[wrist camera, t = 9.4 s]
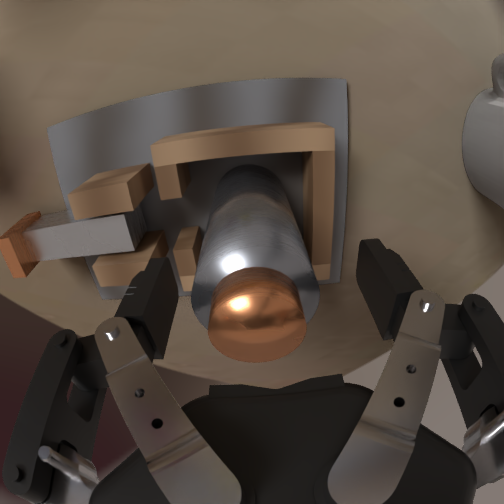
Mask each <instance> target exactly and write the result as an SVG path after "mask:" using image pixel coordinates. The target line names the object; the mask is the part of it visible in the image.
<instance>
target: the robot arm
mask: <svg viewBox="0 0 504 504" xmlns="http://www.w3.org/2000/svg"><path fill="white" fill-rule="evenodd" d="M356 277H357V283H358V285H359V288H360V290H361V292H362V294H363V296H364V298H365V300H366V303H367V305H368V307H369V309H370V311H371V314H372V316H373V318H374V320H375V323H376V325H377V327H378V330H379V332H380V334H381V337H382V339H383V340H388V339H393V340H394V342H395V343H394V345H393V348H392V350H391V353H390V356H389V358H388V360H387V363H386V366H385V368H384V370H383V372H382V375H381V377H380V379H379V381H378V384H377V386H376V388H375V390H374V391H373V390H371V389H369V388H366V387H364V386H361V385H357V384H352V383H344V380H343V376H342V374H337V375H330V376H324V377H316V378H310V379H307V380H304V381H301V382H298V383H295V384H292V385H289V386H286V387H283V388H280V389H269V388H262V387H255V386H249V385H243V384H239V385H210V388H209V395H206V396H202V397H199V398H197V399H195V400H192V401H190V402H189V403H187V404H185V405H184V406H183V407H181V408H180V406H179V405H178V403H177V402H176V400H175V399H174V398H173V396H172V394H171V393H170V391H169V390H168V388H167V387H166V385H165V384H164V382H163V381H162V379H161V378H160V376H159V374H158V373H157V371H156V370H155V368H154V366H153V365H152V362H153V359H163V358H164V354H165V350H166V346H167V342H168V338H169V334H170V330H171V326H172V322H173V318H174V314H175V311H176V307H177V303H178V298H179V292H178V286H177V283H176V279H175V276H174V273H173V269H172V266H171V263H170V260H169V258H168V257H162V258H151V259H150V260H149V262H148V264H147V266H146V268H145V270H144V271H140V272H139V273H138V274H137V275H136V276H135V277H134V278H133V279H132V280H131V282H130V284H129V288H128V289H127V291H126V293H125V295H124V297H123V299H122V301H121V303H120V305H119V307H118V310H117V312H116V314H115V316H114V317H112V318H109V319H107V320H105V321H104V322H102V323H101V324H100V325H99V326H98V327H97V329H96V331H95V334H94V335H90V336H86V337H82V338H78V337H77V335H76V334H75V332H74V331H72V330H70V329H65V330H62V331H59V332H58V333H56V334H55V335H53V337H52V338H51V339H50V340H49V342H48V344H47V346H46V348H45V350H44V353H43V355H42V357H41V359H40V361H39V364H38V366H37V368H36V370H35V373H34V375H33V378H32V380H31V382H30V385H29V387H28V390H27V392H26V395H25V398H24V400H23V403H22V406H21V409H20V412H19V414H18V417H17V420H16V423H15V426H14V430H13V433H12V436H11V439H10V443H9V446H8V450H7V454H6V458H5V461H4V466H3V471H2V475H3V481H4V483H5V486H6V487H7V489H8V490H9V491H10V492H11V493H13V494H15V495H17V496H19V497H21V498H24V499H25V500H28V501H29V502H31V503H32V504H473V499H474V496H475V492H476V489H478V488H480V487H481V486H483V485H485V484H487V483H494V482H496V481H498V480H500V479H501V478H503V477H504V323H503V322H502V320H501V318H500V317H499V315H498V314H497V312H496V311H495V309H494V308H493V306H492V305H491V304H490V302H489V301H488V300H487V299H485V298H484V297H482V296H480V295H477V294H469V295H467V296H465V297H464V299H463V302H462V304H461V305H457V304H445V303H444V301H443V299H442V298H441V297H440V296H439V295H438V294H436V293H435V292H432V291H429V290H424V289H423V288H422V286H421V285H420V283H419V282H418V280H417V279H416V277H415V276H414V275H413V273H412V272H411V270H409V268H408V266H407V265H406V264H405V262H404V261H403V259H402V258H401V257H400V255H398V254H397V253H395V252H394V251H393V250H391V249H386V248H385V246H384V245H383V244H382V242H381V241H380V240H379V239H366V240H361V241H360V245H359V253H358V262H357V269H356ZM474 347H476V349H477V351H478V353H479V354H480V357H481V359H482V368H481V366H480V364H479V362H478V360H477V358H476V356H475V354H474V352H473V349H474ZM439 359H441V361H442V363H443V365H444V368H445V370H446V373H447V375H448V377H449V379H450V382H451V385H452V388H453V390H454V393H455V395H456V398H457V401H458V403H459V406H460V409H461V412H462V415H463V418H464V421H465V424H466V427H467V431H466V433H465V436H464V445H463V447H462V450H460V449H459V448H457V447H456V446H454V445H452V444H451V443H449V442H448V441H446V440H445V439H443V438H442V437H440V436H439V435H437V434H436V433H434V432H433V431H431V430H430V429H428V428H427V427H425V426H424V425H422V424H421V420H422V417H423V414H424V411H425V408H426V405H427V402H428V398H429V395H430V392H431V388H432V385H433V381H434V377H435V374H436V369H437V366H438V361H439ZM71 381H72V382H73V383H74V385H73V388H72V391H71V394H70V397H69V401H68V403H67V397H66V396H67V391H68V388H69V386H70V383H71ZM107 387H110V389H111V391H112V394H113V396H114V398H115V401H116V403H117V405H118V407H119V409H120V411H121V414H122V416H123V418H124V420H125V422H126V424H127V426H128V428H129V430H130V432H131V434H132V436H133V438H134V439H135V441H136V443H137V445H138V447H139V448H138V449H136V450H135V451H134V452H133V453H132V454H131V455H130V456H129V457H128V458H127V459H126V460H125V461H123V462H122V463H121V464H120V465H119V466H118V467H116V468H115V469H114V470H113V471H112V472H111V473H110V474H108V475H107V476H106V477H105V478H104V479H103V480H102V481H100V482H99V479H98V477H97V473H96V469H95V467H94V465H93V464H92V462H91V458H92V453H93V447H94V442H95V437H96V432H97V428H98V423H99V419H100V414H101V410H102V406H103V402H104V398H105V394H106V390H107Z"/></svg>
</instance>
